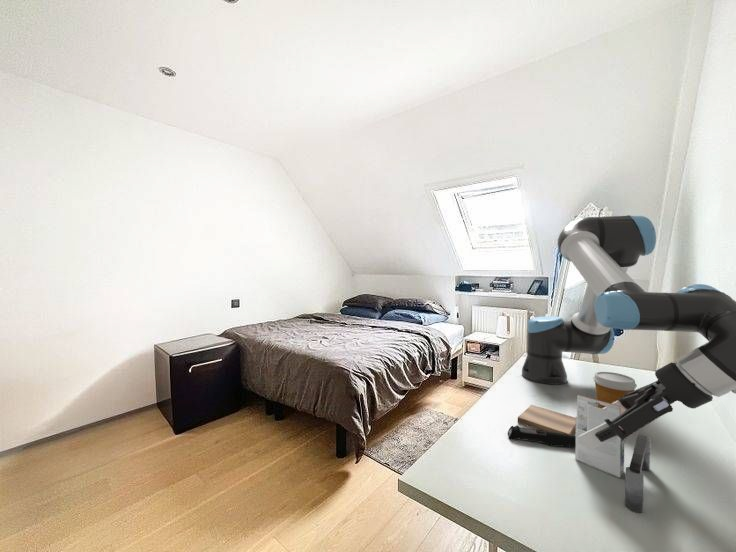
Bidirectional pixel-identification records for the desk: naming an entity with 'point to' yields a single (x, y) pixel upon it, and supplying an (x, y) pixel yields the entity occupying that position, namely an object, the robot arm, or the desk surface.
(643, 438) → the dark grey cabinet handle
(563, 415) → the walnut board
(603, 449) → the ink box
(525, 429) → the electric trimmer
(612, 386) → the disposable coffee cup
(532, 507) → the desk surface
